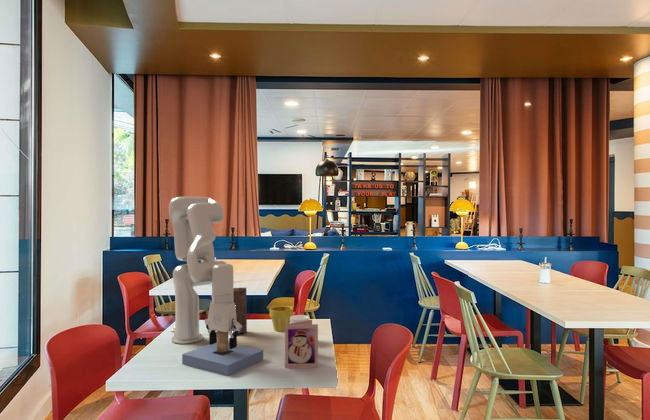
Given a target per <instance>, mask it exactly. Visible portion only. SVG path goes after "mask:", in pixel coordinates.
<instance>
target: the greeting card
mask: <svg viewBox="0 0 650 420" xmlns="http://www.w3.org/2000/svg"><path fill="white" fill-rule="evenodd" d="M284 368H285V369H292V368H295V369H297V368H299V369H300V368H301V369H302V368H304V369H306V368H308V369H309V368H314V369H315V368H317V369H318V368H319V324H317V323H314V324H313V319H309V320H307V321H301V322H296V323H291V324H285V331H284Z"/></svg>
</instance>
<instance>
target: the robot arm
mask: <svg viewBox="0 0 650 420" xmlns="http://www.w3.org/2000/svg"><path fill="white" fill-rule="evenodd" d="M168 215H169V219H170V222H171V225H172V228H173V239H174V240H173V241H174V252H175V257H176V259H177V260H178V261H181V262H186V263H185V264H180V265H178V266H176V267H175V268H174V269H173V270H172V280H173V285H174V296H175V297H174V298H175V299H174V300H175V301H174V303H175V304H174V305H175V308H174V309H175V314H174V315H175V316H174V317H175V325H174V327H173V328H172V329H171V330H170V332H171V333H173V336H172V337H171V341H172V342H173V343H174V344H178V345H179V344H180V345H182V344H185V345H186V344H193V343H198V342H199V341H202V340H203V339H204V335H203V334H202V333H200V297H199V294H198V292H197V291H196V290H195V289H194V287H198V286H199V287H200V286H208V285H211V295H210V297H211V301H210V303H209V309H208V318H206V319H204V324H205V328H206V329H207V333H208V334H209V335H208V336H209V338H208V340H209V341H208V343H209V344H210V345H212V344H214V343H217V331H220V332H228V334H229V349H233V348H236V347H237V345H238V340H237V339H238V336H239V334H241V333H240V331H241V329H242V325H241V324H240V323H238V322H237V321H236V309H235V303H234V302H233V288H234V266H233V264H230V263H227V262H226V261H224V260H217V261H216V260H215V248H214V244H213V242H214V241H215V240H216V237H217V236H216V235H217V234H216V231H215V228H214V224H220V223H222V222H223V221H224V219H225V211H224V208H223V206H222V204H220V203H219V202H218V201H216V200H215V199H213V198H212V197H209V196H176V197H173V198H172V199H171V200H170V202H169V203H168ZM199 261H200V262H199ZM232 331H233V333H232ZM209 344H208V345H209Z"/></svg>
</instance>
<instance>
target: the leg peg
mask: <svg viewBox="0 0 650 420" xmlns="http://www.w3.org/2000/svg"><path fill="white" fill-rule="evenodd" d="M216 332H217V354H218V355H223V356H224V355H226V354H229V338H230V335H229V333H228V332H220V331H216Z"/></svg>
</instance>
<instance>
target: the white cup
mask: <svg viewBox="0 0 650 420" xmlns="http://www.w3.org/2000/svg"><path fill="white" fill-rule="evenodd" d="M307 320H310V317H309V315H305V314H295V315H292V316H291V317H290V324H291V323H296V322H301V321H307Z"/></svg>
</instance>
